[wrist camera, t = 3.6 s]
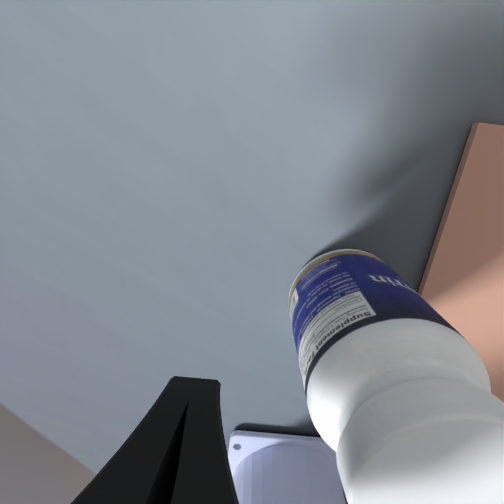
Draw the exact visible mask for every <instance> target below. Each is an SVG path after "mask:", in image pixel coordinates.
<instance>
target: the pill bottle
mask: <svg viewBox="0 0 504 504" xmlns="http://www.w3.org/2000/svg"><path fill="white" fill-rule="evenodd" d="M288 303H289V313H290V319H291V325H292V330H293V335H294V340H295V345H296V350H297V355H298V359H299V365H300V370H301V375H302V380H303V385H304V390H305V395H306V401H307V406H308V409H309V413H310V416H311V419H312V421H313V424H314V426H315V428H316V430H317V431H318V433H319V434H320V436H321V437H322V439H323V440H324V441H325V442H326V443H327V444H328V445H329V446H330V447H331V448H332V449H333V450H334V451H335V452H336V459H337V467H338V471H339V474H340V478H341V481H342V484H343V488H344V491H345V495H346V499H347V502H348V504H504V403H503V402H502V401H501V400H500V399H499V398H498V397H496V396H495V395H493V394H492V393H491V385H490V379H489V375H488V372H487V369H486V367H485V365H484V363H483V361H482V359H481V358H480V356H479V354H478V353H477V352H476V350H475V349H474V348H473V347H472V346H471V344H470V343H469V342H468V341H467V340H466V339H465V338H464V337H463V336H462V335H461V334H460V333H459V332H458V331H457V330H456V329H455V328H454V327H453V326H451V325H450V324H449V323H448V322H447V321H446V320H445V319H444V318H443V317H442V316H441V315H440V314H438V313H437V312H436V311H435V310H434V309H433V308H432V307H431V306H430V305H429V304H428V303H427V302H426V301H425V300H424V299H423V298H422V297H421V296H420V295H419V294H417V293H416V292H415V291H414V290H413V289H412V288H411V287H410V286H409V285H408V284H407V283H406V282H405V281H404V280H403V279H402V278H401V277H400V276H399V275H398V274H397V273H395V272H394V271H393V270H392V269H391V268H390V267H389V266H388V265H387V264H386V263H385V262H384V261H382V260H381V259H380V258H378V257H376V256H375V255H373V254H370V253H368V252H365V251H361V250H357V249H339V250H334V251H330V252H327V253H325V254H322V255H320V256H318V257H316V258H315V259H313V260H312V261H310V262H309V263H308V264H306V265H305V266H304V267H303V268H302V270H301V271H300V272H299V273H298V275H297V276H296V278H295V279H294V282H293V284H292V286H291V289H290V293H289V302H288Z"/></svg>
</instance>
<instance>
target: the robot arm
mask: <svg viewBox="0 0 504 504" xmlns="http://www.w3.org/2000/svg"><path fill="white" fill-rule="evenodd" d="M220 385H221V384H220V383H219V381H218V380H212V379H200V378H189V377H178V376H174V377H173V378H171V379H170V381H169V382H168V384H167V386H166V387H165V389H164V390H163V392H162V393H161V395H160V396H159V398H158V399H157V400H156V402H155V403H154V405H153V406H152V407H151V409H150V410H149V412H148V413H147V414H146V416H145V417H144V418H143V420H142V421H141V422H140V423H139V425H138V426H137V427H136V429H135V430H134V431H133V432H132V434H131V435H130V436H129V437H128V439H127V440H126V441H125V443H124V444H123V445H122V446H121V447H120V449H119V450H118V451H117V452H116V453H115V454H114V456H113V457H112V458H111V459H110V460H109V461H108V463H107V464H106V465H105V466H104V467H103V468H102V470H101V471H100V472H99V473H98V474H97V475H96V476H95V478H94V479H93V480H92V481H91V482H90V483H89V484H88V485H87V487H86V488H85V489H84V490H83V491H82V492H81V493H80V494H79V495H78V496H77V497H76V498H75V500H74V501H73V502H72V503H71V504H346V502H345V498H344V494H343V489H344V488H343V484H342V481H341V478H340V474H339V471H338V467H337V459H336V452H335V451H334V450H333V449H332V448H331V447H330V446H329V445H328V444H327V443H326V442H325V441H324V440H323V439H322V438H320V437H309V436H298V435H286V434H275V433H263V432H252V431H241V430H236V431H234V432H232V433H231V435H230V444H229V453H228V455H227V450H226V444H225V439H224V434H223V427H222V419H221V410H220Z"/></svg>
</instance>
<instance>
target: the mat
mask: <svg viewBox="0 0 504 504" xmlns="http://www.w3.org/2000/svg"><path fill="white" fill-rule="evenodd" d="M417 294H419V295H420V296H421V297H422V298H423V299H424V300H425V301H426V302H427V303H428V304H429V305H430V306H431V307H432V308H433V309H434V310H435V311H436V312H437V313H438V314H440V315H441V316H442V317H443V318H444V319H445V320H446V321H447V322H448V323H449V324H450V325H451V326H453V327H454V328H455V329H456V330H457V331H458V332H459V333H460V334H461V335H462V336H463V337H464V338H465V339H466V340H467V341H468V342H469V343H470V344H471V346H472V347H473V348H474V349H475V350H476V352H477V353H478V354H479V356H480V358H481V359H482V361H483V363H484V365H485V367H486V369H487V372H488V375H489V379H490V385H491V393H492V394H493V395H495V396H496V397H498V398H499V399H500V400H501V401H502V402H503V403H504V125H496V124H488V123H473V124H472V127H471V130H470V133H469V136H468V139H467V143H466V146H465V149H464V152H463V155H462V158H461V161H460V164H459V167H458V170H457V173H456V176H455V179H454V182H453V185H452V188H451V191H450V195H449V198H448V201H447V204H446V207H445V210H444V213H443V216H442V219H441V222H440V225H439V228H438V231H437V234H436V237H435V240H434V244H433V247H432V250H431V253H430V256H429V259H428V262H427V265H426V268H425V271H424V274H423V277H422V280H421V283H420V286H419V289H418V292H417Z"/></svg>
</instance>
